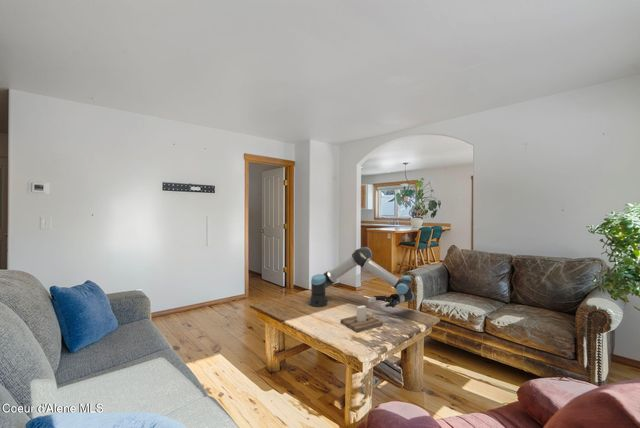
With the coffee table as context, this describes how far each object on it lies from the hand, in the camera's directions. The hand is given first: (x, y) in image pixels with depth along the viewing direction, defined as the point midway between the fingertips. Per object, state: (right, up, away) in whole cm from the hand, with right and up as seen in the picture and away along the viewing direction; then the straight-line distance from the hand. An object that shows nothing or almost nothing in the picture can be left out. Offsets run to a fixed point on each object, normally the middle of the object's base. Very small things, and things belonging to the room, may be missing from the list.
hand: (374, 303), depth 203 cm
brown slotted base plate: (-11, -12, -7) cm, 17 cm away
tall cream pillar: (-10, -12, -7) cm, 17 cm away
